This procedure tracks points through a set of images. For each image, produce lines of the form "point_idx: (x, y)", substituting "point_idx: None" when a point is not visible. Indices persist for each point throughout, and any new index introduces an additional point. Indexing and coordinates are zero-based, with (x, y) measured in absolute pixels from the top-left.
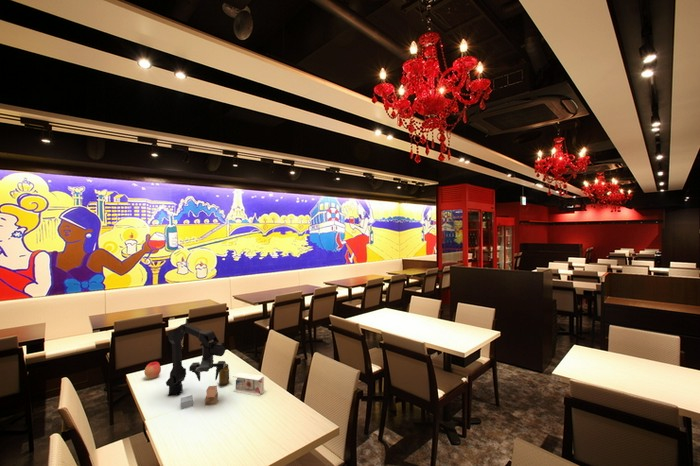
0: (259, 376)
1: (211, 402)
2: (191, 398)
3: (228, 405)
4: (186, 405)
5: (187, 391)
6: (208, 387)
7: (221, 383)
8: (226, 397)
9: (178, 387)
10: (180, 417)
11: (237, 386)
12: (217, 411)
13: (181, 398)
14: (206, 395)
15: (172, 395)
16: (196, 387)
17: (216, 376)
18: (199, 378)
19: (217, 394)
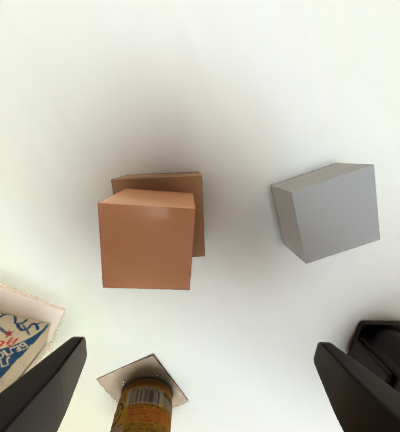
0: None
1: (155, 174)
2: (305, 211)
3: (30, 131)
4: (317, 174)
5: None
6: (185, 261)
7: (154, 389)
8: (84, 245)
9: (397, 366)
10: (331, 49)
11: (23, 336)
12: (86, 58)
13: (373, 228)
14: (201, 230)
15: (392, 322)
16: (283, 378)
17: (6, 399)
18: (351, 384)
19: None
